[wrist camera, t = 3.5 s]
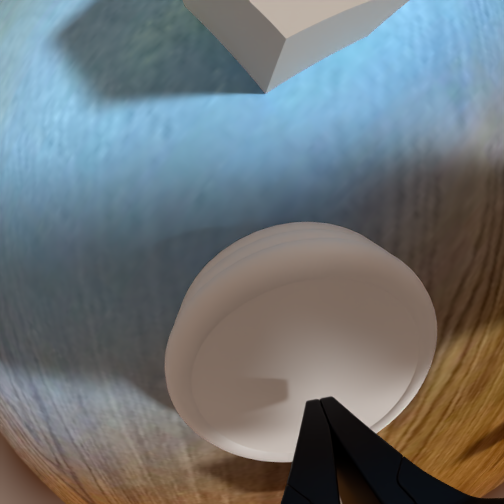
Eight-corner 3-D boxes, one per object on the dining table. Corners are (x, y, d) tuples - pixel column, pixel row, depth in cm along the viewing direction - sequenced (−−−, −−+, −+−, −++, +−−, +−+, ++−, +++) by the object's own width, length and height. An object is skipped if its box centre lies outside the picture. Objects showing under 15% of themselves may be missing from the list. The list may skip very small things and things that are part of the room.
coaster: (255, 168, 10) (262, 169, 7) (436, 288, 12) (481, 323, 9) (147, 367, 12) (126, 420, 9) (317, 430, 14) (330, 478, 11)
